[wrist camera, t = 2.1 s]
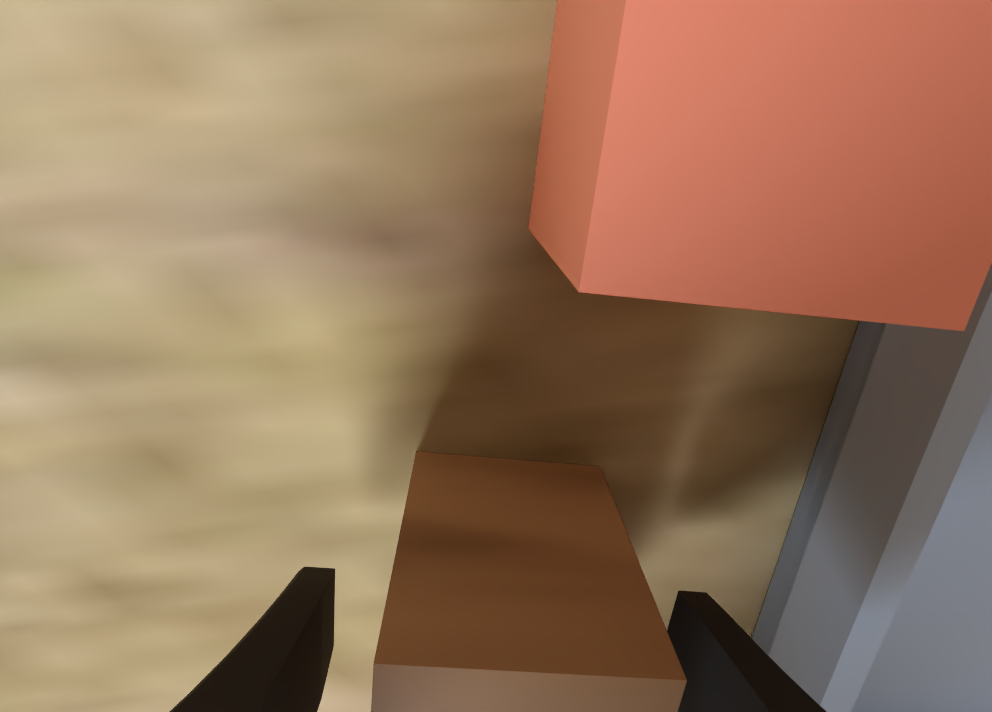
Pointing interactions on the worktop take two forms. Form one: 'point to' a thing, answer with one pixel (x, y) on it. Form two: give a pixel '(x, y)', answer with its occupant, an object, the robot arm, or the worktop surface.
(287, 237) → the worktop surface
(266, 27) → the worktop surface
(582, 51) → the brick-red block
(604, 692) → the walnut block
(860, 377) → the tray
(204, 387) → the worktop surface
